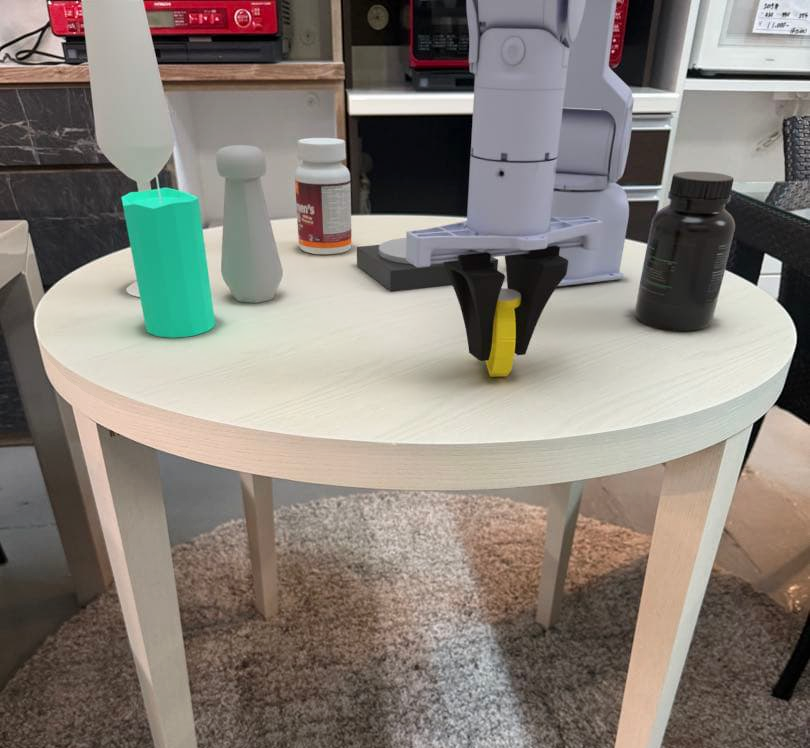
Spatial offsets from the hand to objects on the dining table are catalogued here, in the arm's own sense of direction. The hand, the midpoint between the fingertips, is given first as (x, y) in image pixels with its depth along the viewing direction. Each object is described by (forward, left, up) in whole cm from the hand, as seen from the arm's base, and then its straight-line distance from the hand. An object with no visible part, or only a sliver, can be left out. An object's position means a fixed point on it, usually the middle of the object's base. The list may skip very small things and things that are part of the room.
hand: (496, 353), depth 58 cm
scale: (-6, -27, -1) cm, 28 cm away
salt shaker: (+13, -25, -2) cm, 28 cm away
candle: (+21, -19, -2) cm, 28 cm away
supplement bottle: (-21, -5, -2) cm, 22 cm away
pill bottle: (+1, -40, -2) cm, 40 cm away
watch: (0, 0, -2) cm, 2 cm away
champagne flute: (+21, -31, -2) cm, 37 cm away
